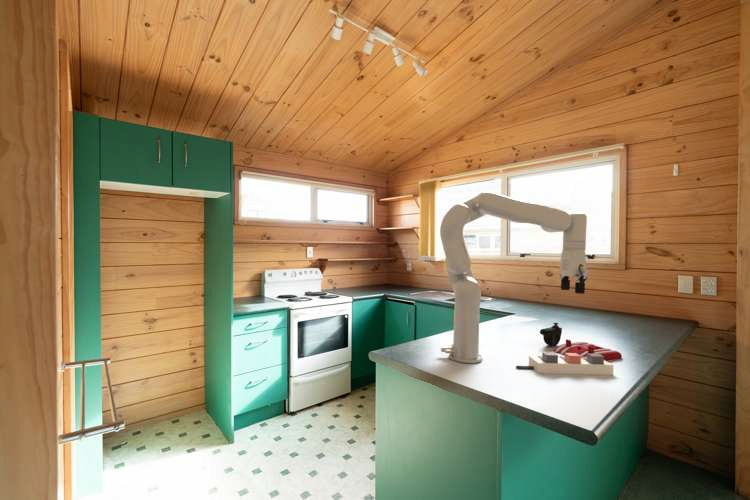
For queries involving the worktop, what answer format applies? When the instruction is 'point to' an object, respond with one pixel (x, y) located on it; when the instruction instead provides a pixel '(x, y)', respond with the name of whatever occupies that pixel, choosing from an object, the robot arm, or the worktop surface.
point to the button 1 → (549, 357)
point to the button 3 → (595, 358)
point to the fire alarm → (587, 350)
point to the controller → (551, 334)
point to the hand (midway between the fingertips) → (572, 291)
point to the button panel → (568, 366)
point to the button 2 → (572, 358)
